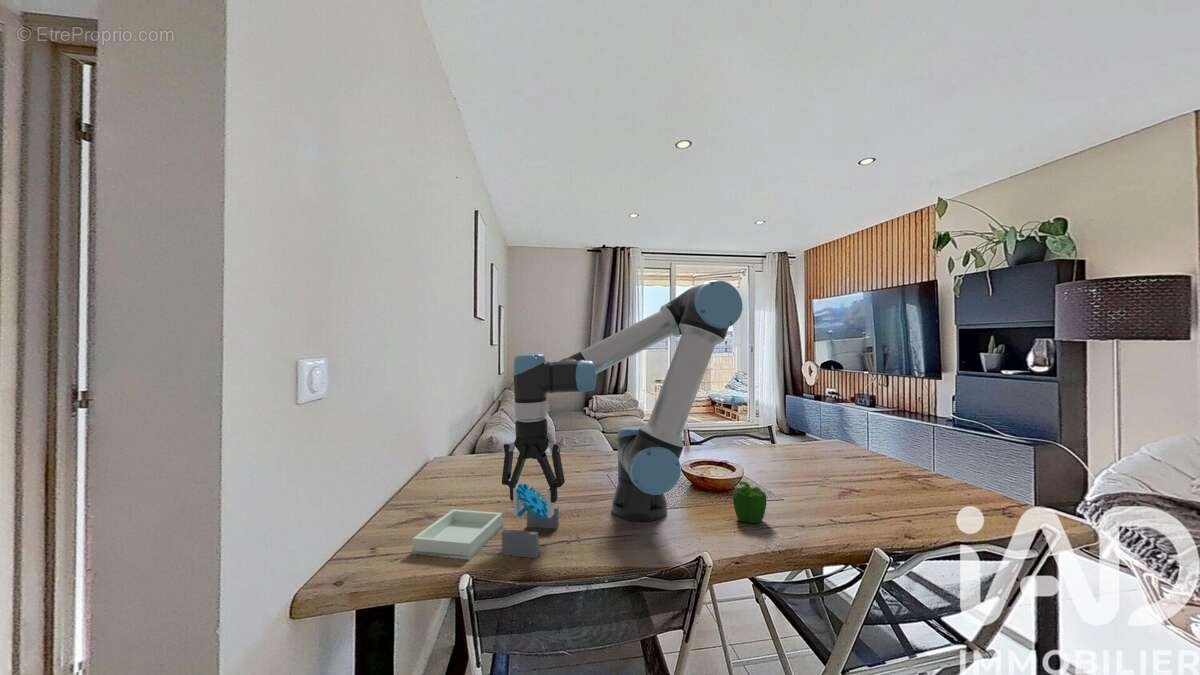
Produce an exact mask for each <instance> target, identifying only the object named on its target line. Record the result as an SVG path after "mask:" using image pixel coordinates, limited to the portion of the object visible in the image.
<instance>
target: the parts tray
mask: <svg viewBox="0 0 1200 675" xmlns="http://www.w3.org/2000/svg"><path fill="white" fill-rule="evenodd" d="M502 528H504V513H503V512H494V511H481V510H480V511H478V510H470V509H469V510H468V509H467V510H465V509H451V510H450V511H449V512H447V513H446V514H444V515H443V516H441V517H440V518H439V519H437V520H436V521H434V522H433V523H432V524H431V525H429V526H427V527H426V528H425V529H423V530H422V531H421V532H419V533H418V534H416V535H415V536H413V537H412V542H411V543H412V545H411V546H412V550H411V551H412V555H417V554H420V555H419V556H427V555H428V556H430V557H437V556H438V557H439V558H448V557H449V558H450V559H458V558H459V560H468V561H470V560H471V559H473V557H475V555H476V554H477V553H479V552H480V550H481V549H483V547H484V546H485V545H486V544H487V543H488V542H490V540H491V539H493V538H494V536H495V535H496V534H497V533H498V532H499V531H500V530H502Z"/></svg>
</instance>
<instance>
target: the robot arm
mask: <svg viewBox="0 0 1200 675" xmlns="http://www.w3.org/2000/svg"><path fill="white" fill-rule="evenodd" d="M743 305H744V304H743V299H742V296H741V294H740V292H739V291H738V289H736V287H735V286H733V285H732V284H731V283H729V282H727V281H724V280H719V279H718V280H716V279H715V280H708V281H705V282H703V283H701V284H700V285H696V286H692V287H691V288H689V289H687V290H685V291H684V292H683V293H680V294H679V295H678V296H677V297H675V298H673V299H672V300H671V301H668V302H667V303H665V304H663V305H661V306H660V309H659V311H657V312H656V313H653V314H651V315H649V316H647V317H645V318H644V319H642V320H639V321H637V322H635V323H633V324H631V325H629V326H628V327H625V328H624V329H622V330H620V331H618V332H615V333H614V334H612V335H610V336H608V337H606V338H604V339H601V340H600V341H598V342H596V343H594V344H592V345H590V346H588V347H587V348H584V349H582V350H580V351H578V352H576V353H574V354H573V355H570V356H568V357H565V358H562V359H561V360H559V361H547V360H546V356H545V355H544V354H543V353H527V354H517V355H516V356H515V357H514V359H513V375H512V376H513V391H514V396H513V397H514V418H515V419H516V420H515V422H514V424H515V425H514V426H515V440H514V441H508V442H506V443H504V444H503V446H502V447H503V451H504V459H503V467H502V475H501V477H502V478H501V485H503V486H508V488H509V500H510V501H512V502H513V516H514V517H519V516H518V513H519V512H520V511H521V510H522V501H521V500H519V499H518V495H519V494H518V493H517V492H516V490H517V489H518V485H519V479H520V476H521V474H522V472H523V469H524V466H525V463H526V460H528V459H532V460H537V463H538V464H539V465H540V468H541V470H542V472H543V475H544V477H545V479H546V482H547V484H548V488H547V489H546V502H547V515H548V518H551V517H552V516H553V514H554V506H555V504H556V502H557V501H558V488H561V487H562V486H563V485H564V484H565V481H566V479H565V475H564V469H563V463H562V458H561V457H562V456H561V453H560V452H561V446H562V445H561V443H560V442H551V441H550V440H549V438H548V420H547V418H546V417H547V416H548V413H547V412H548V408H547V394H554V393H584V392H591V391H594V390H595V388H596V386H597V385H596V384H597V375H598V374H600V373H601V372H603V371H604V370H607V369H608V368H611V367H613V366H614V365H616V364H618V363H620V362H623V361H624V360H626V359H629V358H630V357H633V356H634V355H636V354H639V353H640V352H642V351H644V350H646V349H648V348H650V347H652V346H654V345H656V344H658V343H660V342H661V341H664V340H665V339H668V338H670V337H671V336H673V337H676V338H678V337H680V338H679V340H678V343H677V346H676V349H675V351H674V354H673V356H672V359H671V362H670V364H669V366H668V369H667V372H666V374H665V377H664V379H663V382H662V386H661V389H660V390H659V393H658V397H657V399H656V401H655V404H654V407H653V409H652V411H651V414H650V417H649V419H648V421H647V423H646V424H644V425H642V426H625V427H622V428H621V427H620V428H619V429H618V431H617V438H616V441H617V485H616V489H615V491H614V495H613V498H612V502H611V511H612V513H613V515H615V516H616V517H617V518H620V519H623V520H626V521H631V522H632V521H633V522H650V521H655V520H659V519H662V518H664V517H665V516H666V515H667V513H668V502H667V499H666V497H665V494H666V493H668V492H669V491H671V490H672V489H673V488H674V487H676V485H677V484H678V482H679V480H680V477H681V472H682V471H681V470H682V469H681V463H680V458H681V455H682V452H683V449H684V447H685V444H684V442H683V440H682V433H683V432H684V429H685V426H686V424H687V421H688V418H689V415H690V413H691V410H692V407H693V405H694V402H695V400H696V397H697V395H698V392H699V389H700V387H701V384H702V380H703V379H704V376H705V373H706V372H707V371H706V370H707V368H708V365H709V363H710V360H711V358H712V354H713V352H714V350H715V348H716V346H717V345H719V344H721V343H724V341H725V340H726V336H727V333H728V330H729V329H730V328H731V327H732V326H733V325H734V324H736V322H738V320H740V318H741V315H742V312H743ZM515 448H516V449H517V451H518V453H519V454H518V456H517V460H516V464H515V466H514V470H513V472H512V469H513V460H514V451H515ZM548 448H549V451H550V452H551V459H552V464H553V469H554V471H553V469H552V467H551V464H550V462H549V459H548V456H547V453H546V452H547V450H548Z"/></svg>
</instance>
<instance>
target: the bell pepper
mask: <svg viewBox="0 0 1200 675" xmlns="http://www.w3.org/2000/svg"><path fill="white" fill-rule="evenodd" d="M738 483H739V485H740V486H741V487H736V488H734V489H733V491H732V503H733V509H734V512H735V515H736V518H737V519H738V520H739V521H741V522H745V523H746V522H749V523H752V524H759V523H761V522H762V521H763V519H764V517H765V513H766V509H767V494H766V492H765V491H762V489H761V488H760V487H759V486H757V487H751V485H750V483H749V482H746V481H743V480H741V481H740V480H739V481H738ZM742 485H743V486H742Z"/></svg>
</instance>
